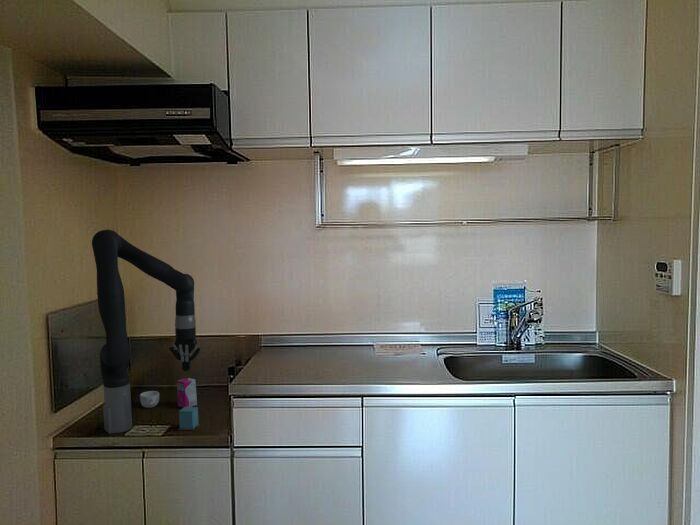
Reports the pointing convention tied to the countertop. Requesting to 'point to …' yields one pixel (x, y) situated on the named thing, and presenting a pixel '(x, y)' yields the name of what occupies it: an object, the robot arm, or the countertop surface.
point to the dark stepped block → (189, 429)
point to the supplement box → (186, 393)
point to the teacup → (149, 399)
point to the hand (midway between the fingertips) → (186, 370)
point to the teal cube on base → (188, 417)
